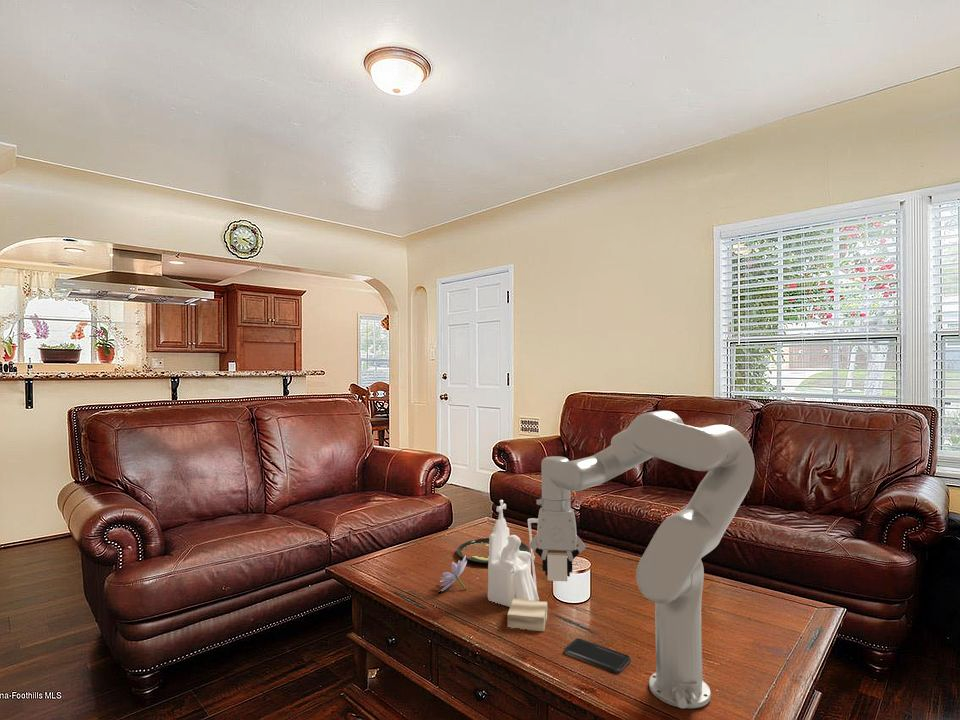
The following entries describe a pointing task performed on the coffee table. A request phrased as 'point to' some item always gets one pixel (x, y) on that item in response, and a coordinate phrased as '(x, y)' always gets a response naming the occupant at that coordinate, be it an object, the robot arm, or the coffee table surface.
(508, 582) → the religious statue
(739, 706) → the coffee table surface
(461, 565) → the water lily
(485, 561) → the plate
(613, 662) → the phone
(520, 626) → the block
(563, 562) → the peach rectangular block
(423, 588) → the coffee table surface
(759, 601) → the coffee table surface
